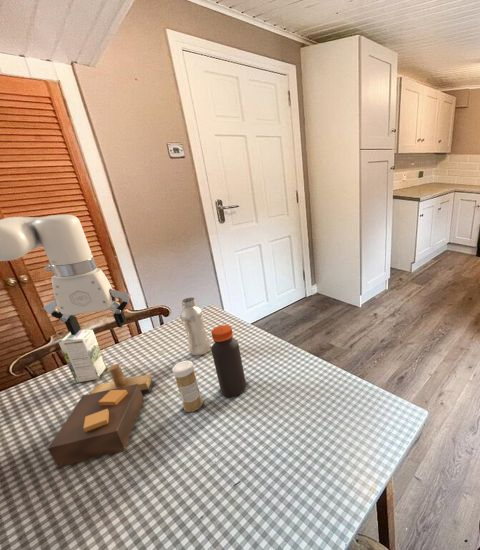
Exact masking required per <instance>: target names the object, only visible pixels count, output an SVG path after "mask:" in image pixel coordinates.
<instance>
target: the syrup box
mask: <svg viewBox="0 0 480 550" xmlns="http://www.w3.org/2000/svg"><path fill="white" fill-rule="evenodd" d="M58 345H59V347H60V349H61V352H62V355H63V357H64V359H65V361H66V364H67V366H68V368H69V370H70V373H71V376H72V378H73V380H74V382H75V384H77V383H83V382H88V381H94V380H99V379H100V377H101V376H102V374H103V373H104V372H105V370H106V369H107V364H106V362H105V359H104V356H103V353H102V351H101V348H100V346H99V343H98V340H97V337H96V335H95V332H94V330H93V329H80V331H79V332H78V333H77V334H76V335H71V332H70V331H69V333H67V334H66V335H65V336H64V337H63V338H62V339H61V340H59V342H58Z"/></svg>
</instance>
